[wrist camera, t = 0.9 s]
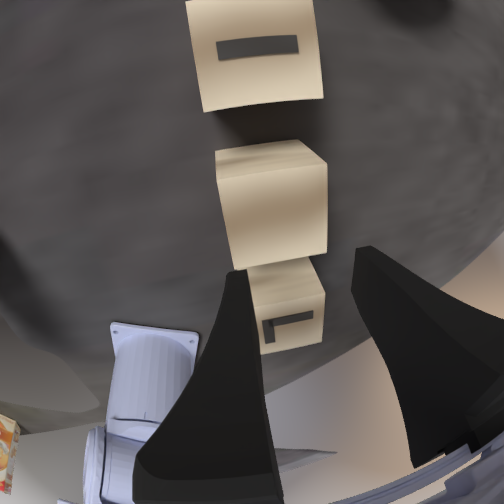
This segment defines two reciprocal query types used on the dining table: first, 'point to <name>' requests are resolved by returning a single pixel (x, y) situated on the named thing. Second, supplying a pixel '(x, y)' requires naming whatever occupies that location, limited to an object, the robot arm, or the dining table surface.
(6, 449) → the coffeecake box
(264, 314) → the numbered block seven
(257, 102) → the numbered block one
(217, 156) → the plain block
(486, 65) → the dining table surface
